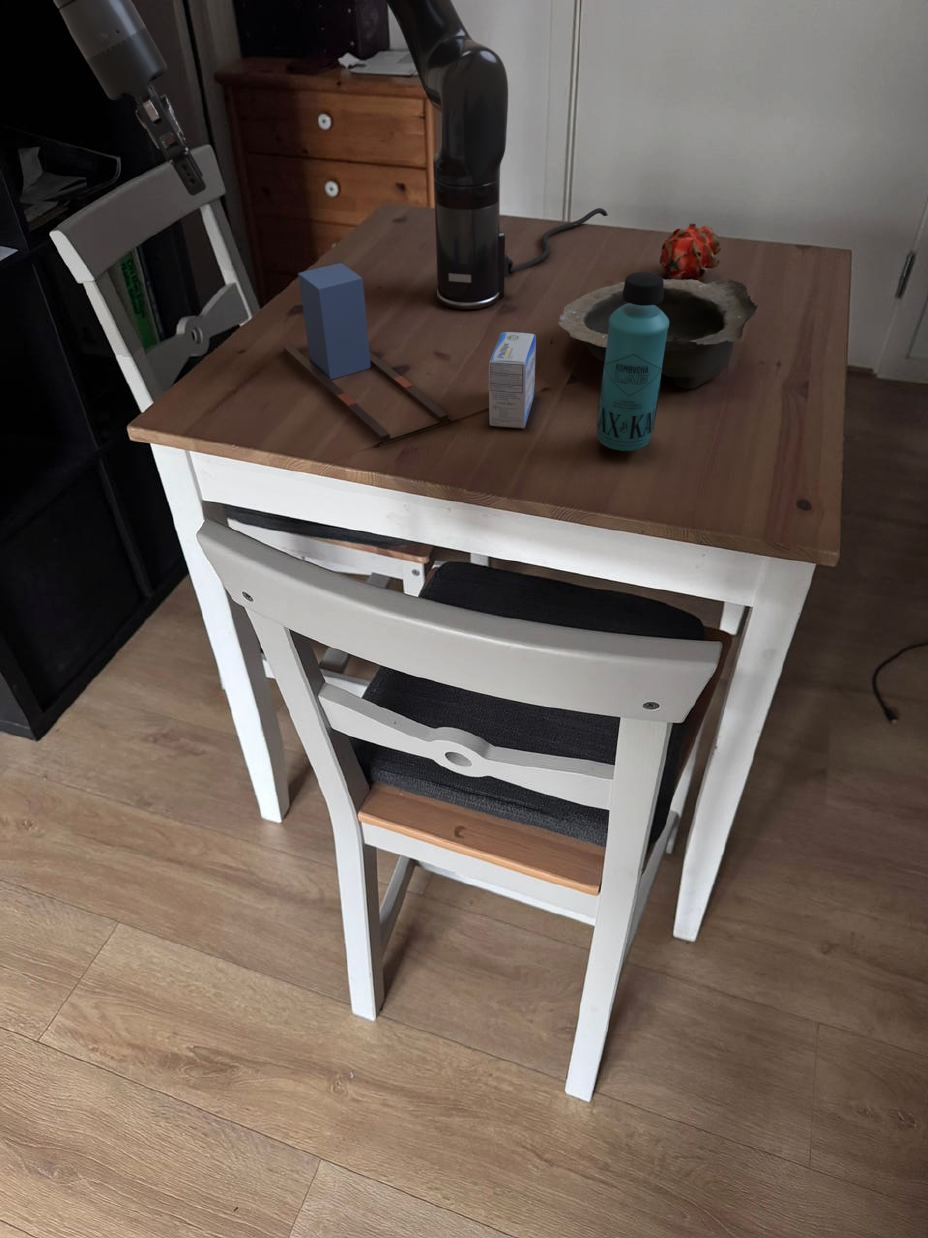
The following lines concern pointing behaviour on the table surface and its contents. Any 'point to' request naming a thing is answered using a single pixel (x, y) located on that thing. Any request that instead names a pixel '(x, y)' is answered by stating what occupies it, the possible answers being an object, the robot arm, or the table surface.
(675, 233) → the dragon fruit
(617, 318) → the beverage bottle
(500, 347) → the medicine box
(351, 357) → the block
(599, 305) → the stone bowl
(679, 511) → the table surface
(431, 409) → the track
